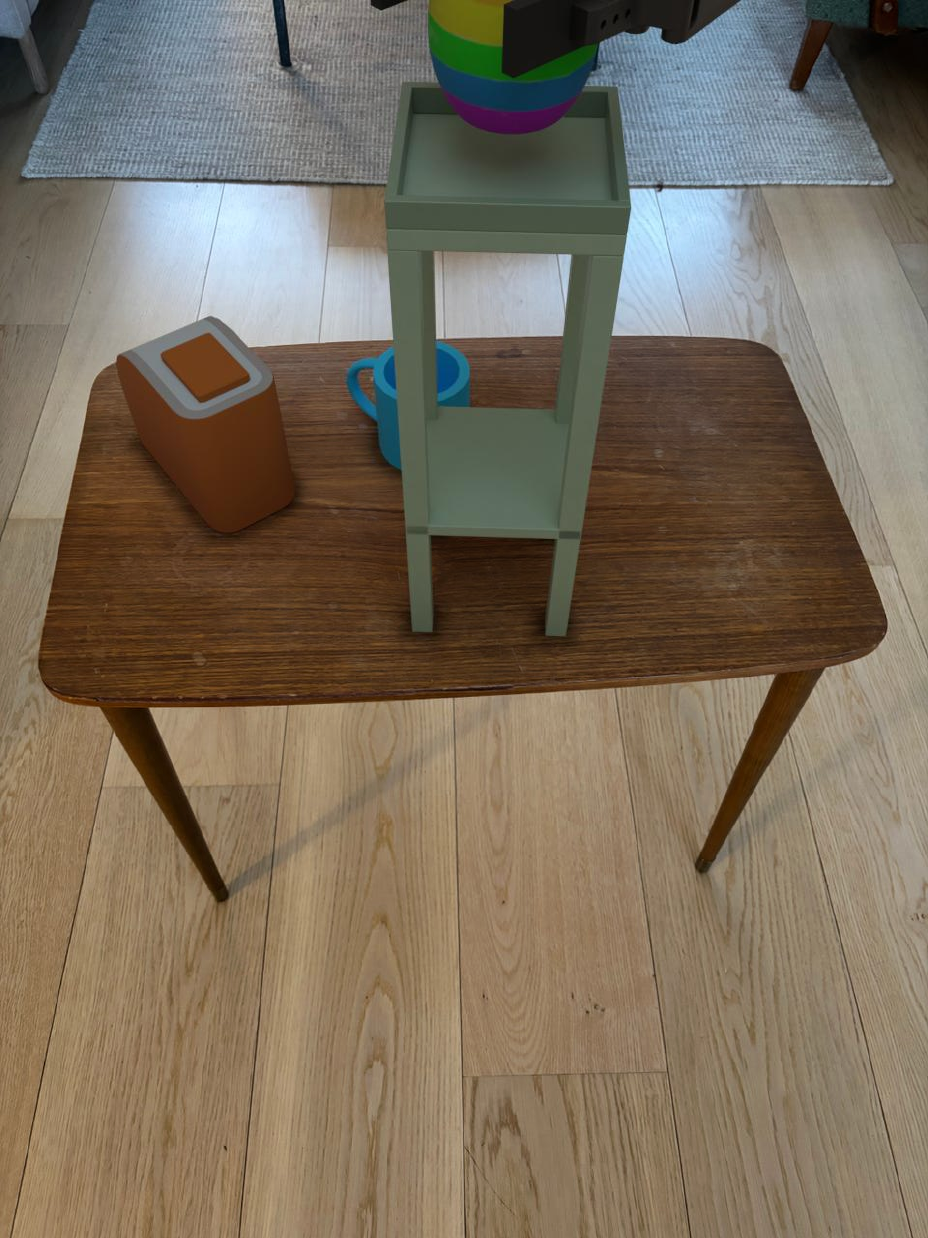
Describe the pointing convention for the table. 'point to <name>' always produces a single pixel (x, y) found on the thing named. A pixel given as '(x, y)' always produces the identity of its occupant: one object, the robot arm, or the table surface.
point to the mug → (449, 389)
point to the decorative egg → (498, 70)
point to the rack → (595, 238)
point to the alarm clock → (211, 422)
